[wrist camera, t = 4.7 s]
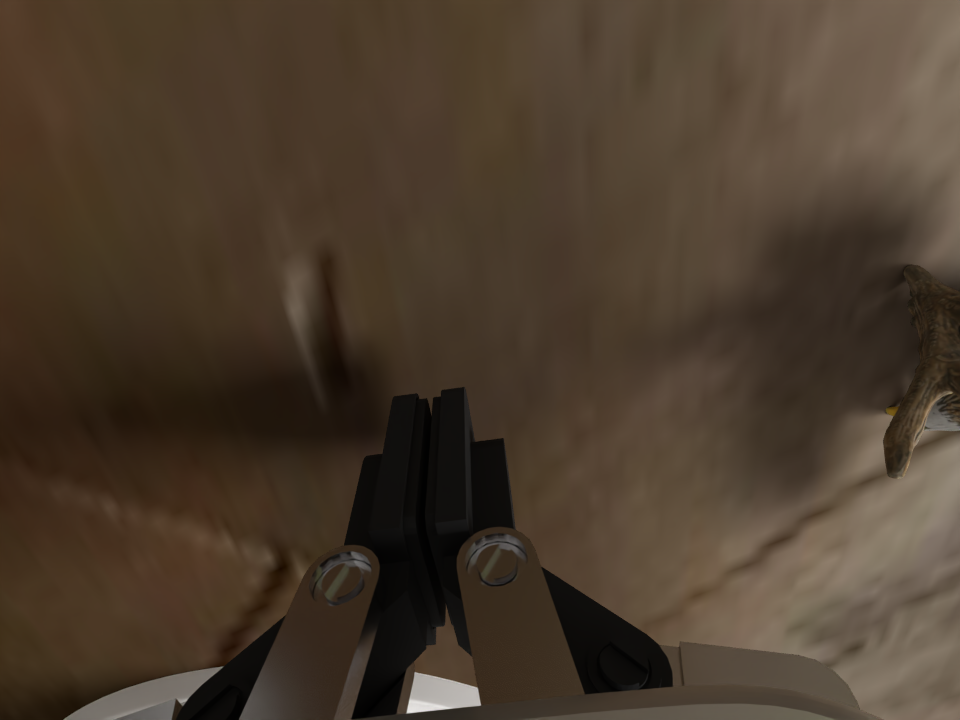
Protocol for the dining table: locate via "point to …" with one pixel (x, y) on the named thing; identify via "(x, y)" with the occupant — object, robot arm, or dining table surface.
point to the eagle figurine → (927, 371)
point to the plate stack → (103, 711)
